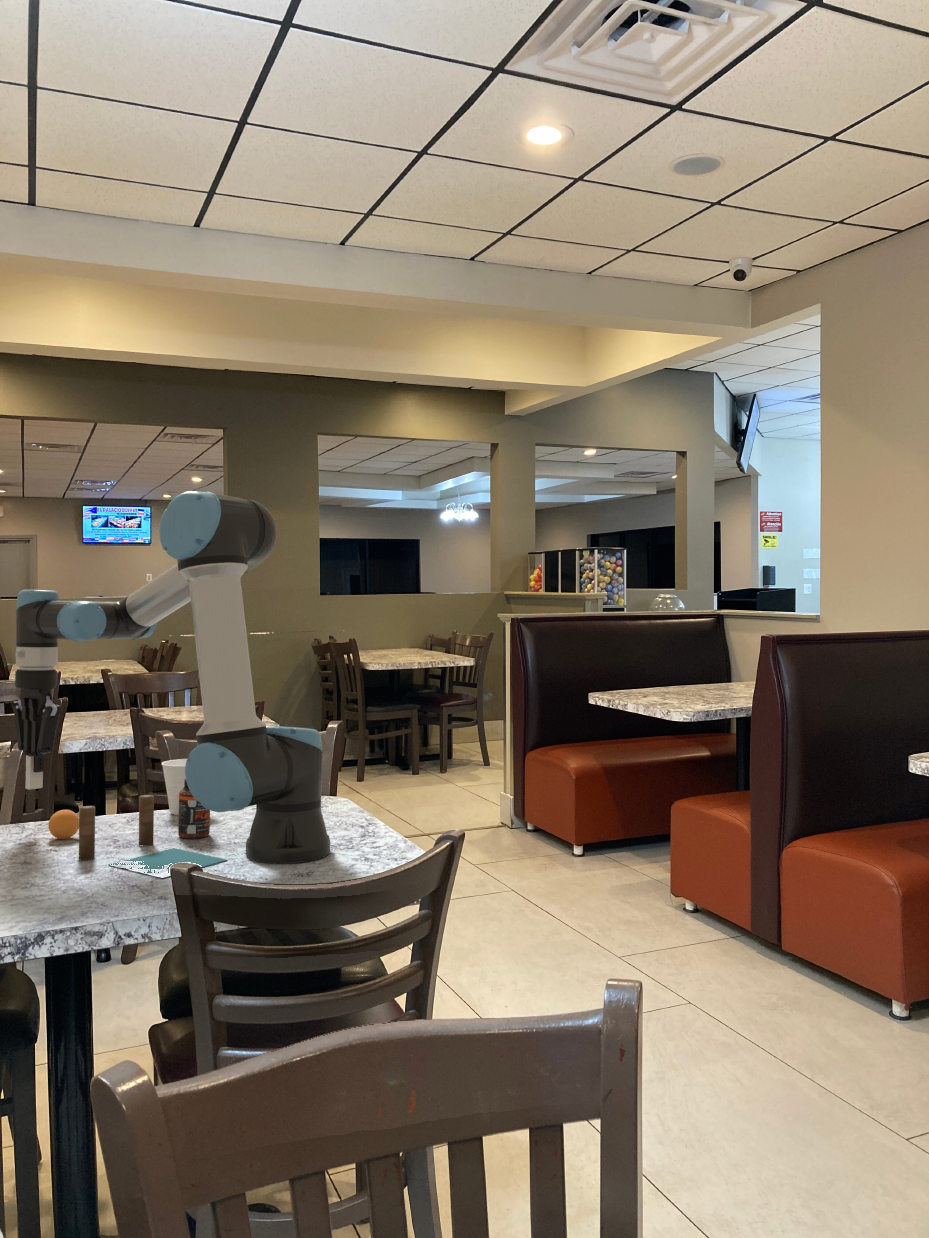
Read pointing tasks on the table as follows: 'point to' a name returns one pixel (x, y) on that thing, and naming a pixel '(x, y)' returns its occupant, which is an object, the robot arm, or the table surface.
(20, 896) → the table surface
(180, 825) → the supplement bottle
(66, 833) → the ball
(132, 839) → the table surface
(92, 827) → the post left
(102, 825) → the table surface
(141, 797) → the post right
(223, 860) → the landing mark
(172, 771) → the cup
